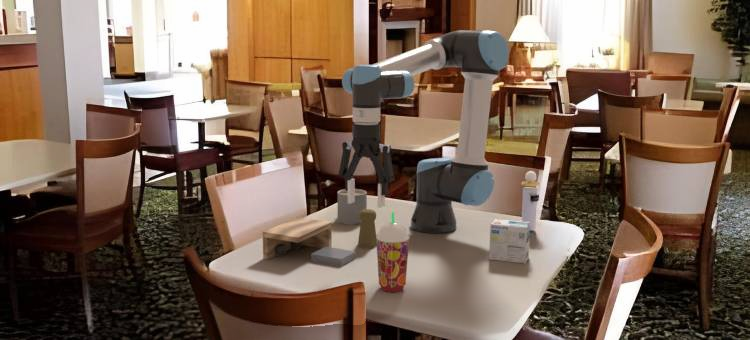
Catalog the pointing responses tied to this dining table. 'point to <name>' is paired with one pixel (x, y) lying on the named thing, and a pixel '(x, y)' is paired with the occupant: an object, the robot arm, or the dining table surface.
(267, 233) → the oak shelf
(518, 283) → the dining table surface
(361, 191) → the coffee mug
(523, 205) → the perfume bottle
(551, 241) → the dining table surface
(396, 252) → the smoothie
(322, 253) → the slate board
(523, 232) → the light bulb box
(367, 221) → the cork
